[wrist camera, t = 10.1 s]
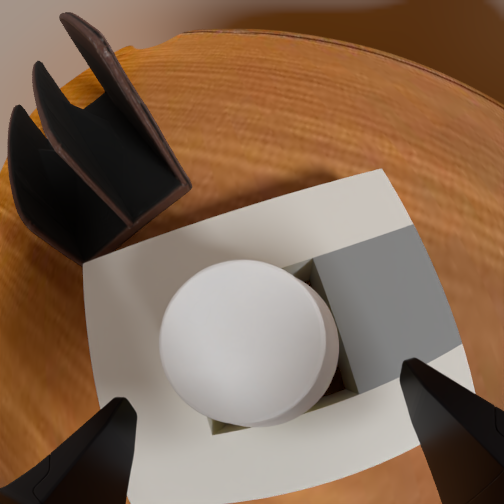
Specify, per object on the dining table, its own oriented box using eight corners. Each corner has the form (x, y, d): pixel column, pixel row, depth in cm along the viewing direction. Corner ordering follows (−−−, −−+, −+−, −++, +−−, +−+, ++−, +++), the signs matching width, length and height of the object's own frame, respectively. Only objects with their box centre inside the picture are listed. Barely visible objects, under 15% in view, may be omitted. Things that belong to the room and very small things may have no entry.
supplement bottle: (229, 303, 17) (155, 226, 8) (324, 310, 16) (361, 233, 7) (218, 396, 15) (122, 425, 6) (316, 406, 14) (349, 460, 5)
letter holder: (114, 96, 28) (64, 5, 15) (196, 190, 20) (107, 12, 8) (49, 148, 27) (-17, 69, 14) (90, 275, 19) (-62, 168, 6)
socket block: (447, 404, 12) (478, 408, 9) (158, 485, 13) (131, 504, 10) (369, 200, 18) (381, 168, 15) (113, 281, 18) (82, 263, 15)
